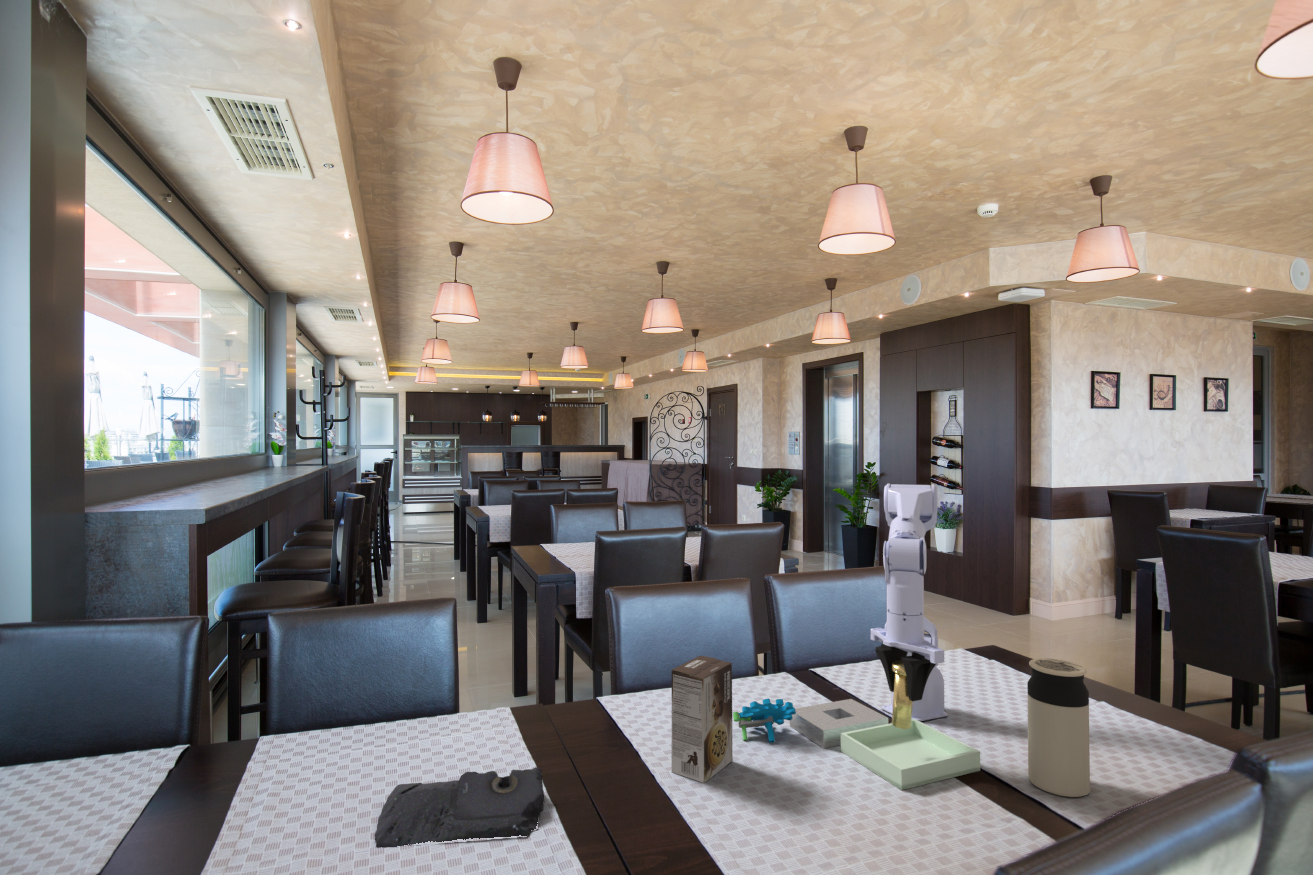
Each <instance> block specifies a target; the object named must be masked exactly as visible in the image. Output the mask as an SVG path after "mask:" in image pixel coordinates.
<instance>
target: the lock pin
mask: <svg viewBox="0 0 1313 875" xmlns="http://www.w3.org/2000/svg"><path fill="white" fill-rule="evenodd" d="M892 671H893V672H895V679H894V695H893V711H892V714H891V723H892V724H893V725H894V726H895V727H897V728H900V729H909V728H911V721H912V705H913V701H911V700H909V697H908V686H907V676H906V672H905V668H904V665H903V662H902V661H901V660H898V661H894V662H892Z"/></svg>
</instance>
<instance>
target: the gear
mask: <svg viewBox="0 0 1313 875" xmlns="http://www.w3.org/2000/svg"><path fill="white" fill-rule="evenodd" d="M795 709H796V708H795V707H794V704H793V702H791V701H786V702H784V699H782V698H777V699H775V703H772V702H771V699H770V698H768V697H767V698H764V699H762V703H759V702H758V701H756V700H755V701H754V700H753V701H751V702H750V703H749V706H745V705H744V706H742V707H741V711H742V712H738V711H735V712H732V718H733V722H735V723H738V727H739V728H740V729H741V730H742V731H741V733H742V740H743V741H744V740H745V741H748V734H747V733H748V732H747V728H759V727H765V728H766V729H767V730H766V731H767V737H768V742H769V743H770V742H771V743H775V742H776V739H775V734H774V726H773V725H774V724H777V725H778V726H782V725H784V724H785V720H786V721H790V720H792V718H793V717H792V715H794V714H796V711H795Z"/></svg>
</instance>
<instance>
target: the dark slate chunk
mask: <svg viewBox="0 0 1313 875" xmlns="http://www.w3.org/2000/svg"><path fill="white" fill-rule="evenodd" d="M542 773H543V771H542V769H541V768H540V767H537V766H535V767H533V768H531V769H530V768H529V769H512V770H510V774H509V775H506V776H503V777H501V776H499V775H498V772H497V771H496V770H495V771H494V770H490V771H487V772H485V773H484V772H483V773H479V772H476V771H466V772H464V773H463V774H462V775H460V777H459V779H457V780H455V779H454V780H451V781H437V782H429V783H428V782H427V783H422V782H415V783H414V782H412V783H401V784H397V785H396V786H395V787H394V788H393V790H392V791H391V793H390V794H389V795H388V796H387V798H386V800H385V803H384V804H383V806H382V808H381V813H380V814H379V815H378V819H377V825H376V829H375V832H374V841H375V843H376V844H375V847H377V848H379V849H381V847H382V848H383V847H384V848H398V847H397V846H400V847H405V846H404V845H407V846H411V845H410V844H416V843H418V844H419V843H422V842H423V843H425V842H428V841H430V842H431V841H433V842H435V841H436V842H442V841H443V842H444V841H452V840H457V839H463V840H464V839H465V840H466V839H469V838H471V839H473V838H479V839H480V838H494V837H511V836H519V835H521V836H527V835H529V836H530V833H531V832H530V831H531V830H534V829H536V826H537V824H538V823H537V822H538V816H539V817H540V815H541V814H542V812H544V811H543V810H544V803H545V792H544V785H543V783H544V782H543V779H544V778H543V777H544V776H543V774H542ZM408 844H409V845H408Z"/></svg>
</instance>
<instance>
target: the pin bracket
mask: <svg viewBox="0 0 1313 875" xmlns="http://www.w3.org/2000/svg"><path fill="white" fill-rule="evenodd" d="M795 711H796V714H794V715H792V717H793V718H792V720H789V727H790V728H792V729H793V730H795V731H797V732H798V733H799V734H801V735H802V736H804V737H806V738H807V739H808V740H810V741H811V742H813V743H815V744H816V745H817V746H819V747H820V748H822V749H827V748H832V747H836V746H841V733H844V732H849V731H854V730H859V729H865V728H870V727H875V726H880V725H885V724H889V717H887V716H885V715H884V714H881V713H880V712H877V711H876V710H874V709H872V708H870V707H868V706H866V705H864V704H863V703H860V702H859V701H856V700H855V699H852V698H849V699H848V698H847V699H842V700H835V701H831V702H826V703H825V702H824V703H820V704H813V705H807V706H802V707H797V708H795Z"/></svg>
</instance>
